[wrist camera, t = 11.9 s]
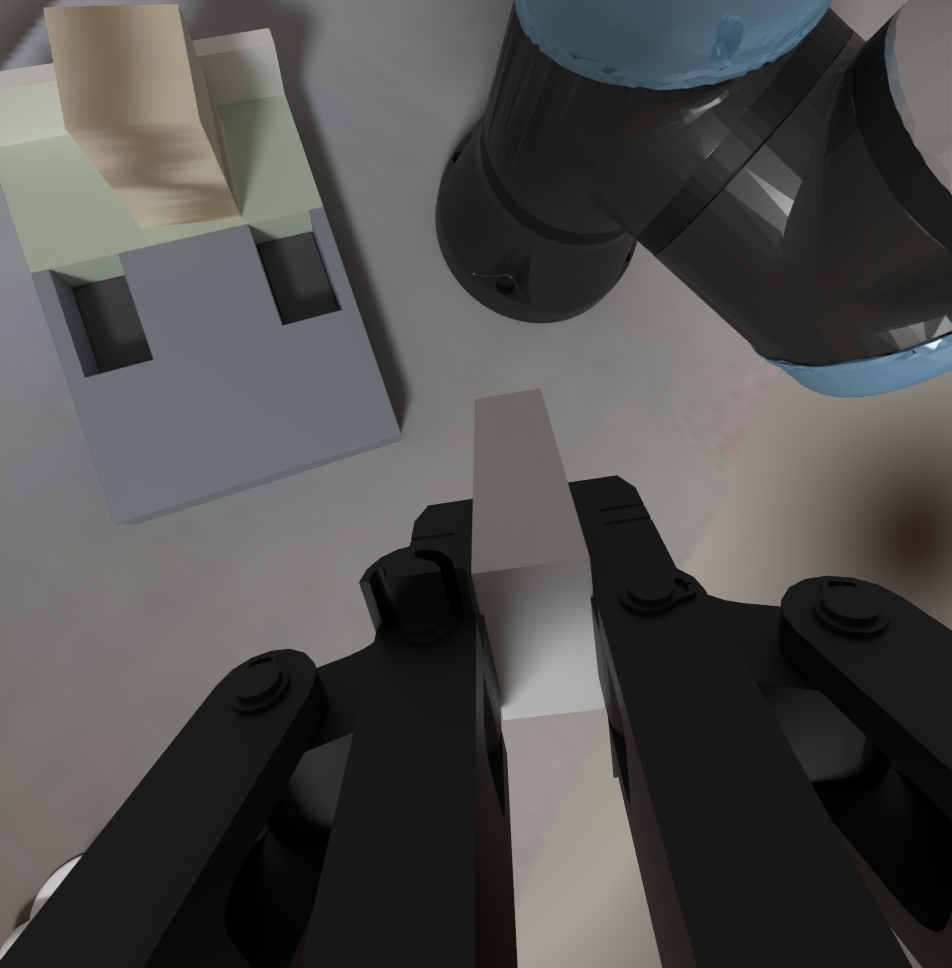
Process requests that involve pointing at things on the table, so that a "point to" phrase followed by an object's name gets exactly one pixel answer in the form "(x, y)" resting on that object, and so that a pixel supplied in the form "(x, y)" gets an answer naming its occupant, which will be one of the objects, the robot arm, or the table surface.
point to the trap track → (195, 302)
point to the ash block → (143, 111)
